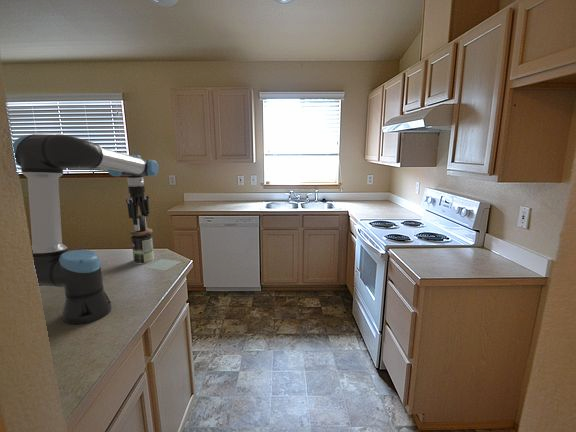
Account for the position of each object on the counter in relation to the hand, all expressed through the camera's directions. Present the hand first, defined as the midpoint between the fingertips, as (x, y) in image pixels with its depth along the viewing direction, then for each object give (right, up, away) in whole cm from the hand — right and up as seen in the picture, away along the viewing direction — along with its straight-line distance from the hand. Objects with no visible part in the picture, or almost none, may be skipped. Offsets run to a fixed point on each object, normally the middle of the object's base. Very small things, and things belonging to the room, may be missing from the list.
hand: (141, 229), depth 164 cm
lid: (0, -2, 0) cm, 2 cm away
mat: (+13, -19, -2) cm, 23 cm away
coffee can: (0, -18, +4) cm, 18 cm away
